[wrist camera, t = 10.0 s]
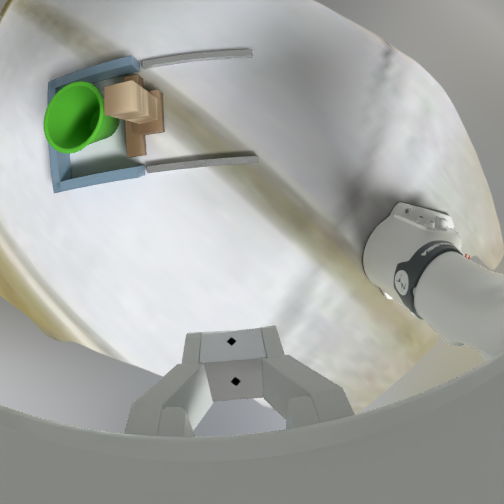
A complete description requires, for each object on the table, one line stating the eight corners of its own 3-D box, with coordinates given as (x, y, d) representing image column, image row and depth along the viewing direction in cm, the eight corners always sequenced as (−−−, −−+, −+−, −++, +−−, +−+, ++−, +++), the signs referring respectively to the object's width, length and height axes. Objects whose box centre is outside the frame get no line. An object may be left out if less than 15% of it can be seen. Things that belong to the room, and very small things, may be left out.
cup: (123, 84, 33) (94, 67, 23) (139, 136, 37) (111, 133, 27) (75, 110, 34) (37, 104, 23) (89, 160, 37) (53, 166, 27)
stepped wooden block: (162, 75, 34) (132, 41, 20) (166, 151, 38) (135, 153, 24) (130, 81, 33) (88, 53, 19) (133, 156, 37) (90, 162, 23)
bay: (139, 62, 33) (132, 55, 29) (145, 174, 39) (137, 177, 35) (60, 85, 31) (48, 82, 28) (66, 189, 38) (53, 193, 34)
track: (251, 52, 34) (252, 49, 33) (257, 162, 40) (258, 162, 39) (144, 63, 33) (142, 61, 32) (149, 172, 39) (147, 173, 38)
